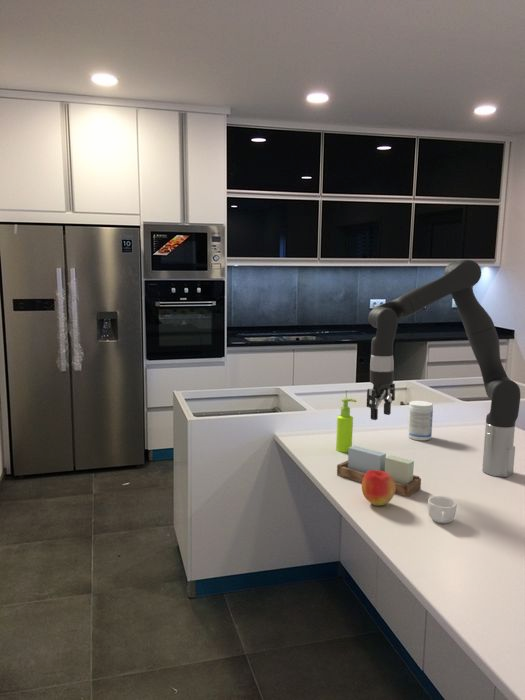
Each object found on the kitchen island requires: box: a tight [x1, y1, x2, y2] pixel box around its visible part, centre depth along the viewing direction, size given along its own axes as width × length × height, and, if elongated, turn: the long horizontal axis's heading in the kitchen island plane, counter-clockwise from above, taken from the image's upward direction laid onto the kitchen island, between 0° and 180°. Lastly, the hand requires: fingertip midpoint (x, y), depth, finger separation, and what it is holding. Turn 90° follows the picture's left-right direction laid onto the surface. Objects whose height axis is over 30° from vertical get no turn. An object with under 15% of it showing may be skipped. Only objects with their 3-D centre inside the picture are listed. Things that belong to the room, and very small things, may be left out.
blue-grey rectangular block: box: [347, 444, 387, 473], centre depth 188 cm, size 12×4×9 cm, turn 48°
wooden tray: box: [336, 459, 422, 498], centre depth 185 cm, size 26×8×4 cm, turn 48°
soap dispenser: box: [335, 398, 357, 453], centre depth 216 cm, size 6×7×20 cm
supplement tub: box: [407, 400, 434, 442], centre depth 234 cm, size 10×10×15 cm
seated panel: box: [385, 454, 415, 485], centre depth 180 cm, size 8×4×9 cm, turn 48°
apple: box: [361, 470, 396, 507], centre depth 168 cm, size 10×10×10 cm
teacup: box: [427, 495, 457, 524], centre depth 157 cm, size 10×8×5 cm
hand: (380, 416), depth 187 cm, fingers open, 8 cm apart
